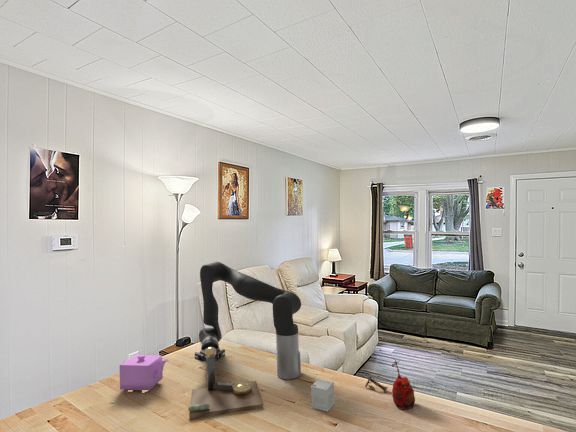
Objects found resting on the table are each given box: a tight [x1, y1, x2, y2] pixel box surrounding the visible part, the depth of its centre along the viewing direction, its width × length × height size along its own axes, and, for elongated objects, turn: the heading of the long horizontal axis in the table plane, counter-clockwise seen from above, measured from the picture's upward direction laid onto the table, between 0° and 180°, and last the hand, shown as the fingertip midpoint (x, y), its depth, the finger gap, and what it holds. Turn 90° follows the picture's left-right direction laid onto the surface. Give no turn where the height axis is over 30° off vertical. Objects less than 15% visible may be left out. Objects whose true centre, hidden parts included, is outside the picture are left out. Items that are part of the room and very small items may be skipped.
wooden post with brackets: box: [364, 375, 389, 393], centre depth 128 cm, size 2×8×4 cm, turn 62°
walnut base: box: [188, 380, 264, 420], centre depth 123 cm, size 24×18×3 cm
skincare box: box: [310, 379, 336, 413], centre depth 118 cm, size 6×6×7 cm
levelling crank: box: [205, 347, 252, 396], centre depth 128 cm, size 18×7×15 cm, turn 78°
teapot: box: [119, 354, 170, 391], centre depth 135 cm, size 20×10×12 cm, turn 82°
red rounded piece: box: [391, 358, 416, 411], centre depth 117 cm, size 8×7×15 cm
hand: (210, 362), depth 135 cm, fingers closed
